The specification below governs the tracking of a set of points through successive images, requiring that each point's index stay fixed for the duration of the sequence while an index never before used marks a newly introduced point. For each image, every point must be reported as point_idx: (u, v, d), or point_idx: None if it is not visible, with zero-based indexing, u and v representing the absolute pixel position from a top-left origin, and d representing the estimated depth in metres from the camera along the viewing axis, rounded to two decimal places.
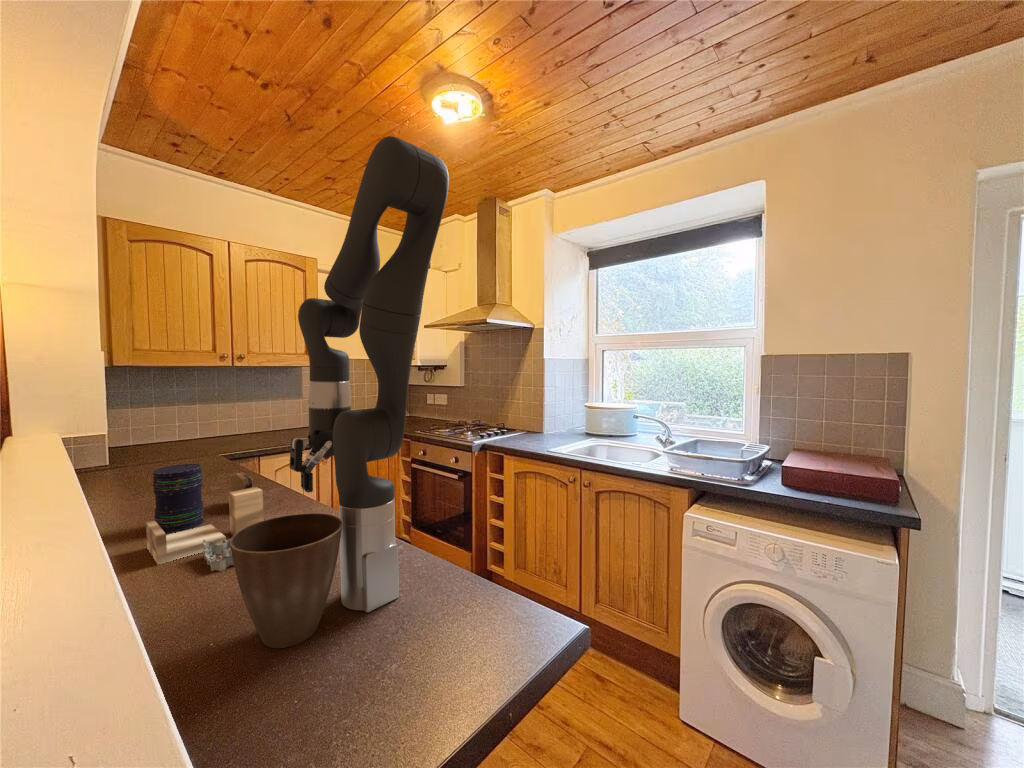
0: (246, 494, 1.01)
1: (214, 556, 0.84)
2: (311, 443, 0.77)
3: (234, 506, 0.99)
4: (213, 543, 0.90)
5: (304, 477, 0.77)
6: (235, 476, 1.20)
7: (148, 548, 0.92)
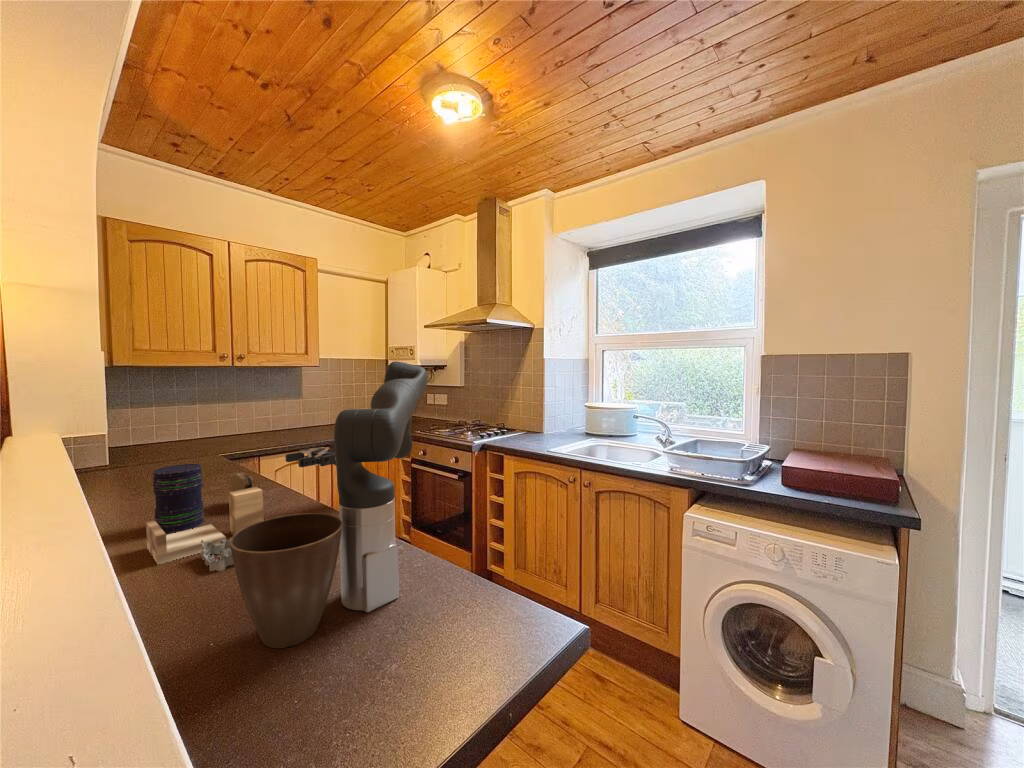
0: (246, 494, 1.01)
1: (213, 556, 0.84)
2: None
3: (234, 506, 0.99)
4: (211, 544, 0.90)
5: None
6: (235, 476, 1.20)
7: (148, 548, 0.92)
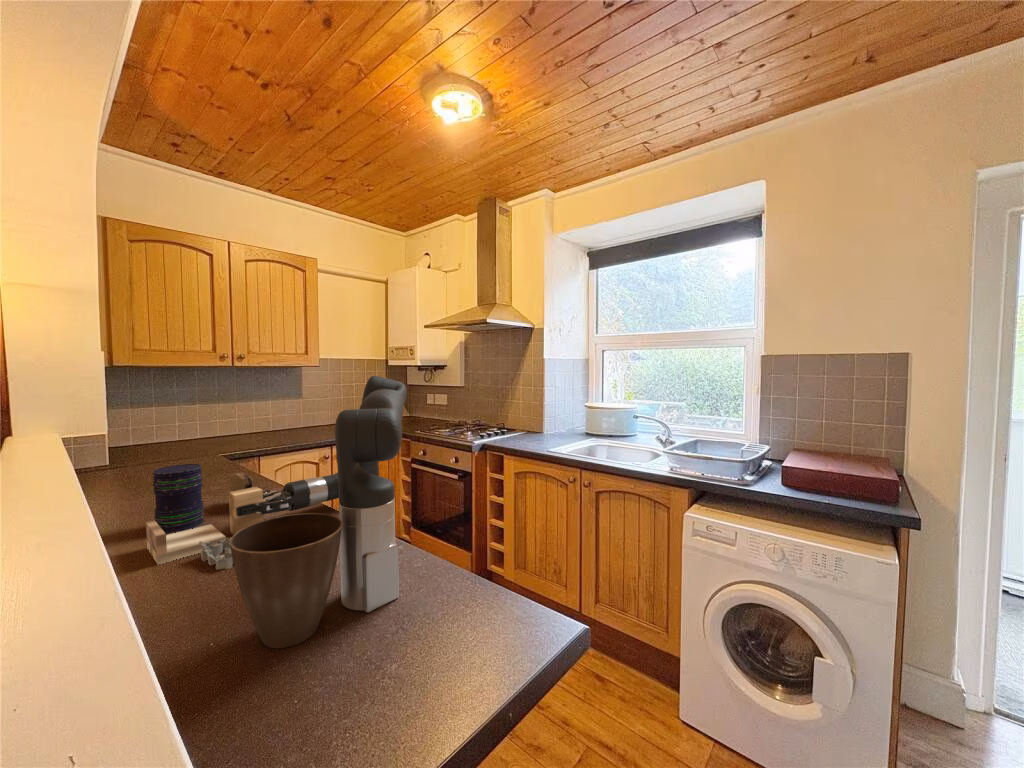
0: (246, 494, 1.01)
1: (218, 555, 0.85)
2: None
3: (234, 506, 0.99)
4: (209, 544, 0.90)
5: None
6: (235, 476, 1.20)
7: (148, 548, 0.92)
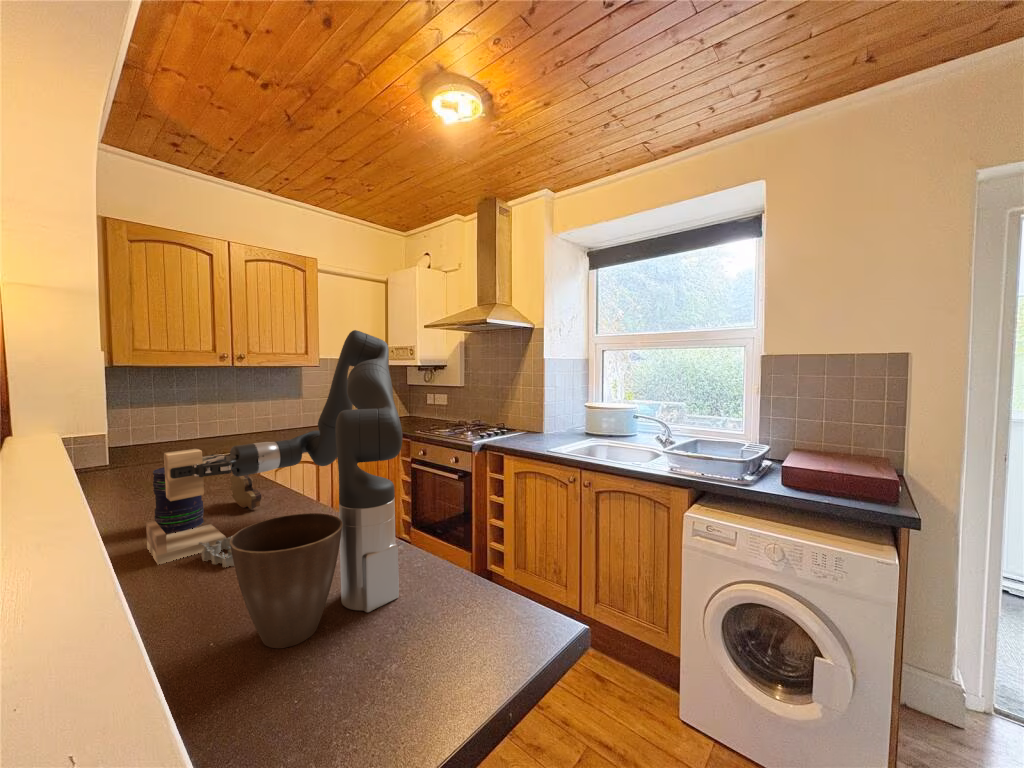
0: (182, 454, 0.91)
1: (224, 554, 0.85)
2: None
3: (168, 467, 0.90)
4: (207, 545, 0.89)
5: None
6: (235, 476, 1.20)
7: (148, 548, 0.92)
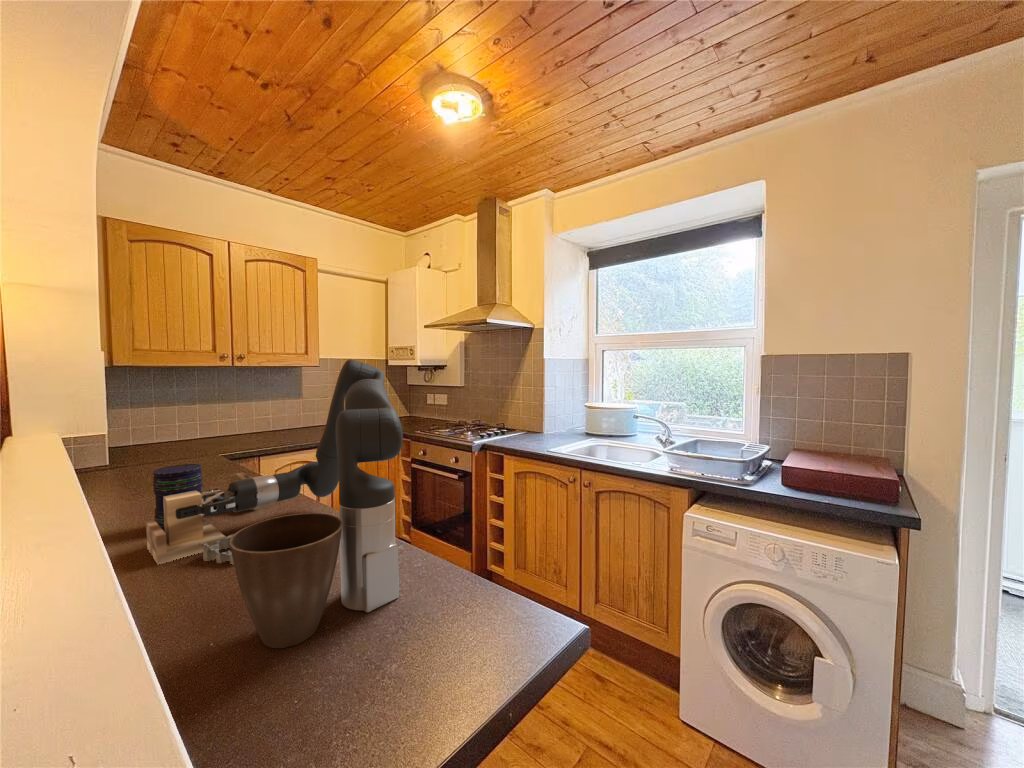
0: (182, 499, 0.91)
1: (230, 552, 0.86)
2: None
3: (167, 512, 0.90)
4: None
5: None
6: (235, 476, 1.20)
7: (148, 548, 0.92)
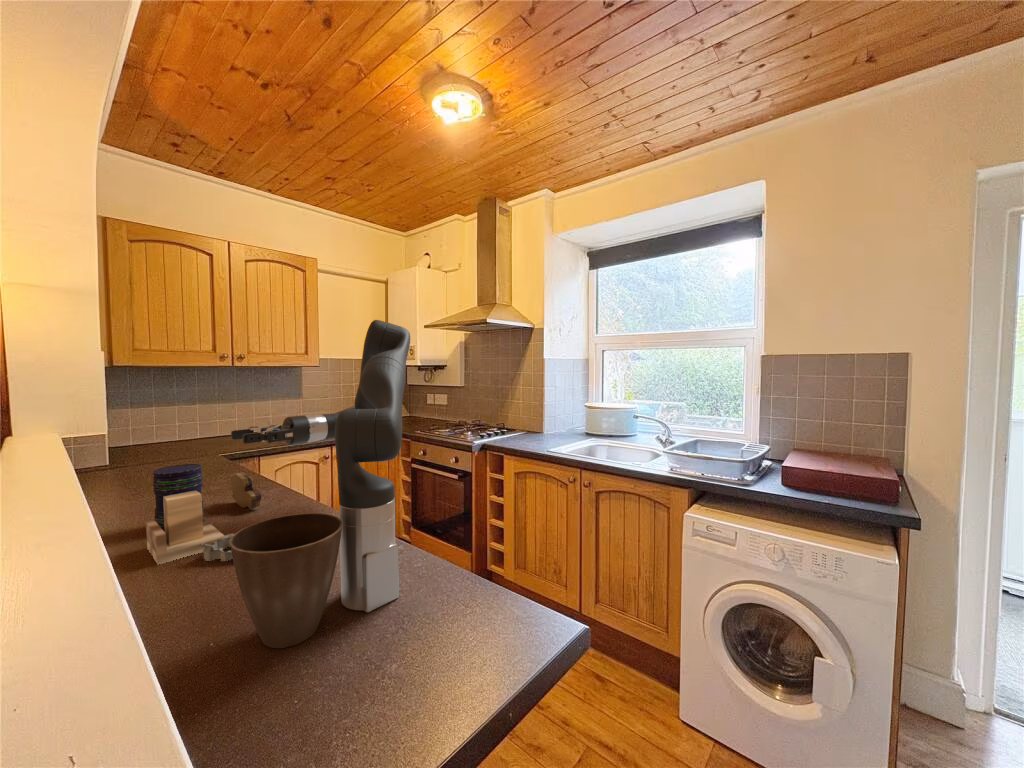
0: (182, 499, 0.91)
1: None
2: None
3: (167, 512, 0.90)
4: None
5: None
6: (235, 476, 1.20)
7: (148, 548, 0.92)
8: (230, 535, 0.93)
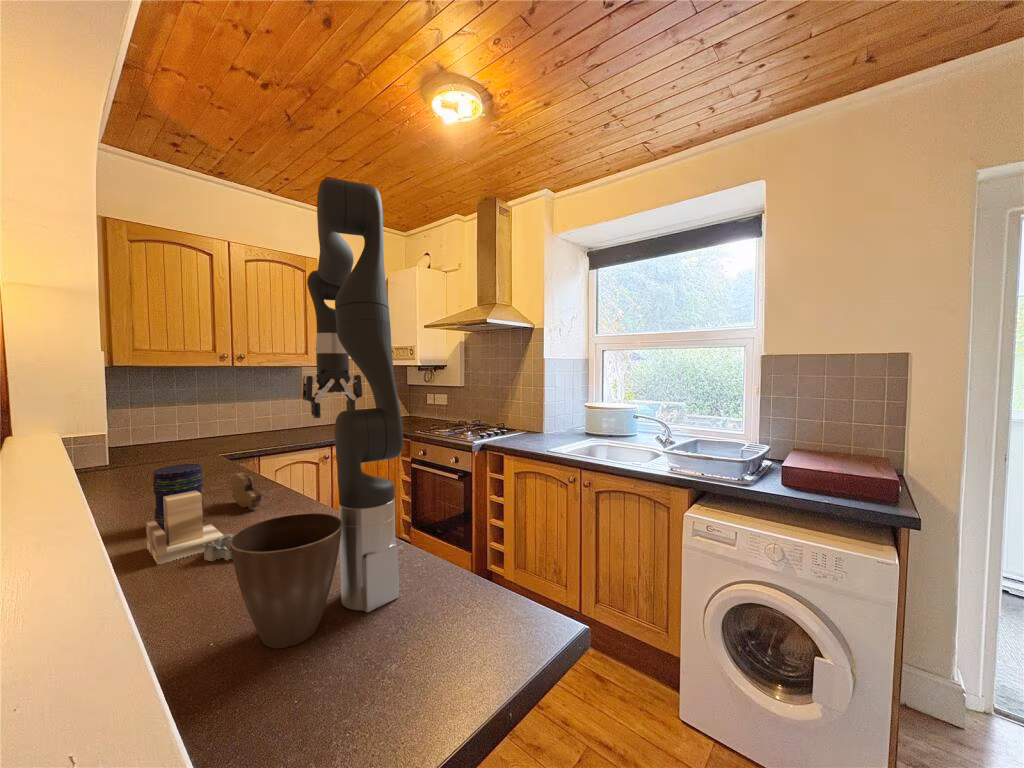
0: (182, 499, 0.91)
1: None
2: (318, 380, 1.01)
3: (167, 512, 0.90)
4: (205, 547, 0.88)
5: (314, 406, 1.00)
6: (235, 476, 1.20)
7: (148, 548, 0.92)
8: (226, 535, 0.93)
